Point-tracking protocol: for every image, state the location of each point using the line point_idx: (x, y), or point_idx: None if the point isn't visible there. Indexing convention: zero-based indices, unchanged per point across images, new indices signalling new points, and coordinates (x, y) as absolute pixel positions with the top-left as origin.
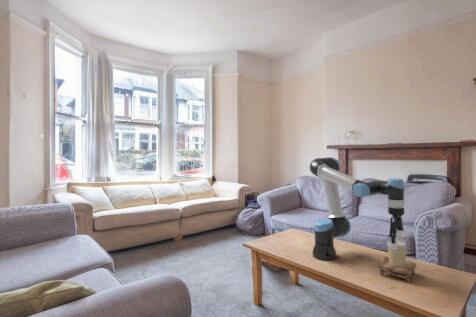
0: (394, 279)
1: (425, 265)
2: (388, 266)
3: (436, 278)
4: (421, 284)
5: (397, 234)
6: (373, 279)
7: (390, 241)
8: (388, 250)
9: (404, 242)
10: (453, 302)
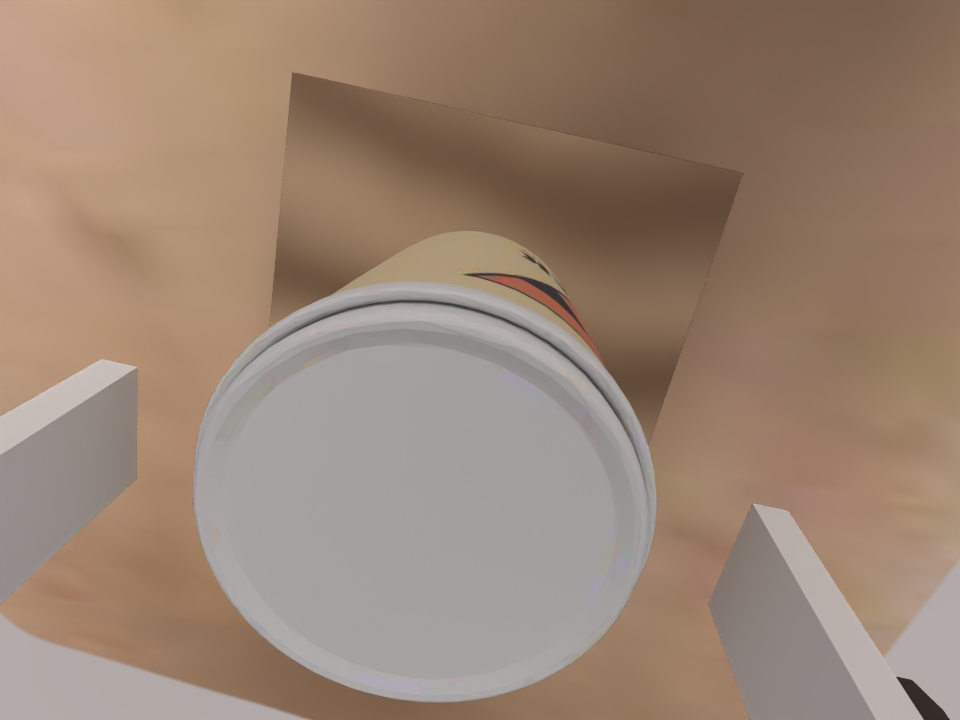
0: None
1: (857, 574)
2: (327, 221)
3: None
4: None
5: (828, 692)
6: (180, 22)
7: (483, 389)
8: (365, 275)
9: (521, 685)
10: (149, 639)
